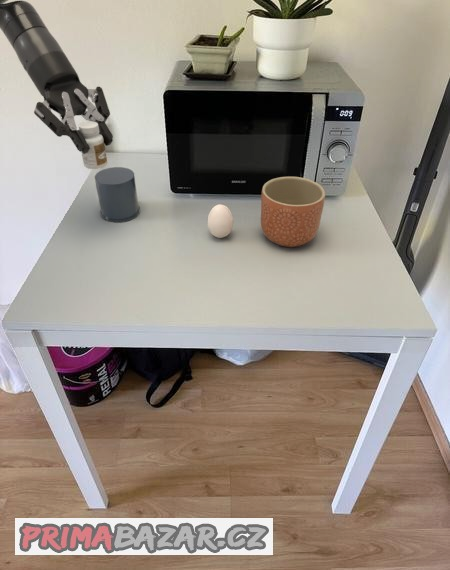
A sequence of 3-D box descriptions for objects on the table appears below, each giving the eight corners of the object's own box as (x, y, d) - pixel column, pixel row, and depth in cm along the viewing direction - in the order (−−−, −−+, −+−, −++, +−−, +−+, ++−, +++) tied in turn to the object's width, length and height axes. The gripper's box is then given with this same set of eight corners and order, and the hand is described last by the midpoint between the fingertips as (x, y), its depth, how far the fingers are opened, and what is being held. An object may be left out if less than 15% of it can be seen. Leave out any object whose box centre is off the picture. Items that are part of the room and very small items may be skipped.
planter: (321, 255, 88) (330, 206, 81) (259, 253, 88) (263, 205, 81) (313, 222, 98) (320, 176, 91) (257, 221, 98) (260, 175, 91)
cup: (104, 226, 96) (97, 188, 90) (96, 206, 102) (89, 170, 97) (145, 217, 99) (140, 180, 93) (134, 199, 105) (129, 163, 99)
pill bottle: (104, 170, 83) (97, 129, 78) (81, 169, 83) (72, 128, 78) (109, 160, 86) (103, 120, 81) (87, 159, 86) (79, 119, 81)
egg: (236, 240, 92) (237, 209, 87) (212, 245, 91) (212, 214, 86) (227, 227, 96) (227, 197, 91) (204, 232, 94) (203, 201, 90)
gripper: (11, 57, 72) (70, 149, 74) (85, 43, 80) (136, 126, 82) (5, 84, 78) (59, 169, 80) (74, 69, 86) (122, 145, 88)
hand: (98, 146), depth 81 cm, fingers closed on pill bottle, 4 cm apart
